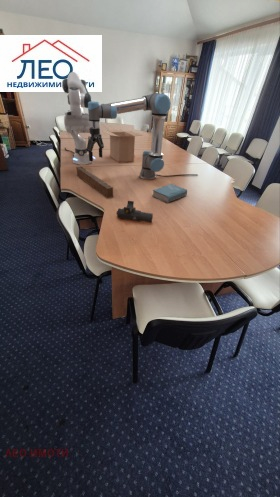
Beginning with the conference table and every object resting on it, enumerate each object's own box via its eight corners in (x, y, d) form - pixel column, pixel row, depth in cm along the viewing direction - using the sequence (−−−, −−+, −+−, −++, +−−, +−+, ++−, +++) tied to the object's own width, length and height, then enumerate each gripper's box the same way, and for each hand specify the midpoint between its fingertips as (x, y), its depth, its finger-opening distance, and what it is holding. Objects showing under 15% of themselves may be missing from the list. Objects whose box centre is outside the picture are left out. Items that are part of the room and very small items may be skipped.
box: (144, 162, 244) (146, 135, 228) (114, 165, 229) (114, 136, 213) (127, 152, 274) (128, 128, 258) (100, 154, 260) (99, 128, 243)
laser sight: (150, 226, 134) (151, 211, 128) (114, 220, 137) (114, 205, 131) (152, 218, 142) (154, 204, 136) (119, 213, 144) (119, 199, 139)
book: (170, 189, 184) (171, 183, 181) (186, 195, 175) (187, 189, 172) (152, 196, 171) (152, 189, 168) (168, 203, 162) (169, 196, 159)
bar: (113, 196, 166) (112, 187, 161) (107, 198, 163) (107, 188, 159) (82, 174, 201) (81, 166, 196) (77, 175, 198) (76, 167, 194)
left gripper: (88, 112, 179) (90, 131, 187) (62, 112, 172) (65, 131, 180) (90, 113, 174) (91, 133, 182) (63, 112, 167) (66, 133, 175)
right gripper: (99, 125, 166) (100, 155, 179) (79, 129, 147) (82, 161, 160) (108, 126, 164) (108, 156, 177) (89, 130, 145) (91, 163, 158)
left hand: (78, 132), depth 181 cm, fingers open, 8 cm apart
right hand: (96, 159), depth 168 cm, fingers open, 13 cm apart
